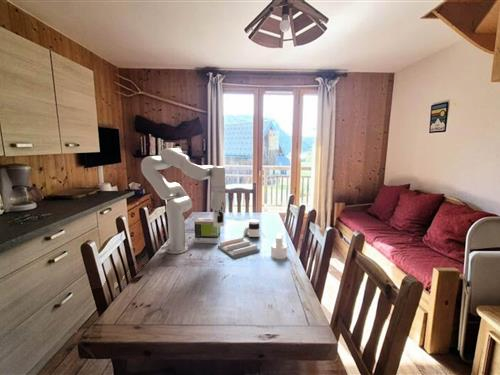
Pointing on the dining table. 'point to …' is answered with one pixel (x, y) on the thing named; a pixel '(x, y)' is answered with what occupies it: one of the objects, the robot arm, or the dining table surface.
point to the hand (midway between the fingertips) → (218, 221)
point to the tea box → (206, 231)
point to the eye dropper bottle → (216, 220)
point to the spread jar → (253, 229)
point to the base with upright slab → (279, 248)
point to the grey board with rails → (238, 247)
